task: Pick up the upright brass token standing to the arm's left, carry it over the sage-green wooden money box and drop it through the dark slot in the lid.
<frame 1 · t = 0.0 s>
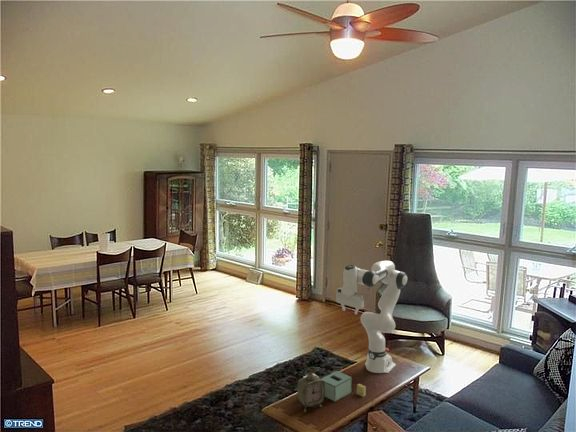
hand: (349, 312, 288), 48 cm above the table, fingers open, 8 cm apart
small box: (310, 397, 278), on the table
token: (361, 394, 280), on the table
coin box: (335, 393, 282), on the table
tabletop clock: (310, 407, 266), on the table
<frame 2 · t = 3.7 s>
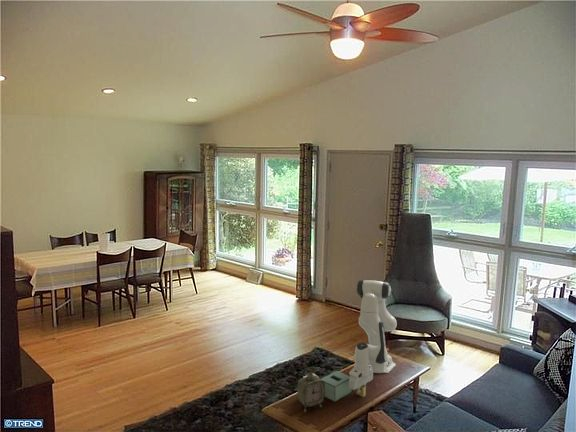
hand: (361, 391, 280), 2 cm above the table, fingers closed on token, 2 cm apart
token: (361, 394, 280), on the table, touching gripper
everything else where it was.
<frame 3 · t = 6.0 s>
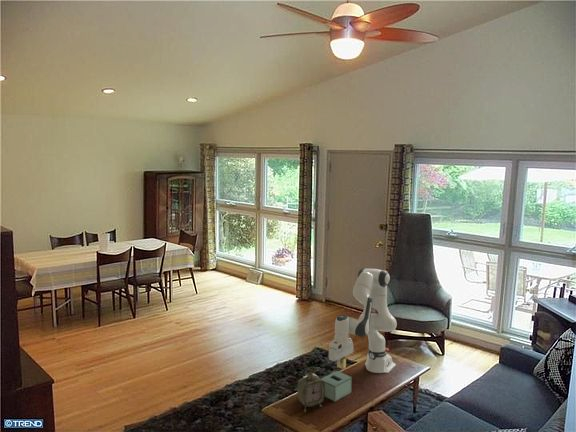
hand: (341, 363, 278), 20 cm above the table, fingers closed on token, 2 cm apart
token: (341, 367, 278), point 18 cm above the table, touching gripper
everything else where it was.
when the fingers open (12 cm above the table, at t = 7.8 s): token drops 9 cm, resting on coin box.
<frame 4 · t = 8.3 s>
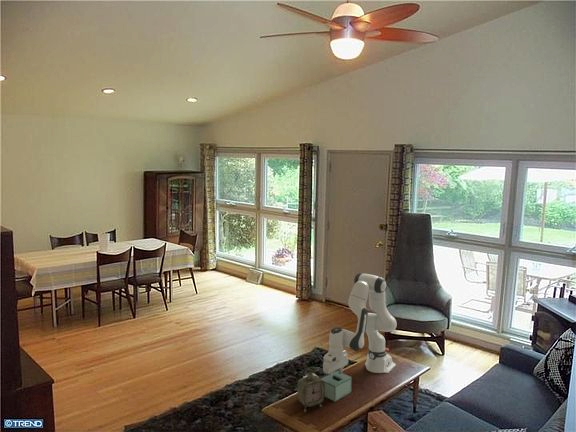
hand: (335, 375, 280), 12 cm above the table, fingers open, 7 cm apart
token: (335, 392, 281), point 1 cm above the table, touching coin box
everything else where it was.
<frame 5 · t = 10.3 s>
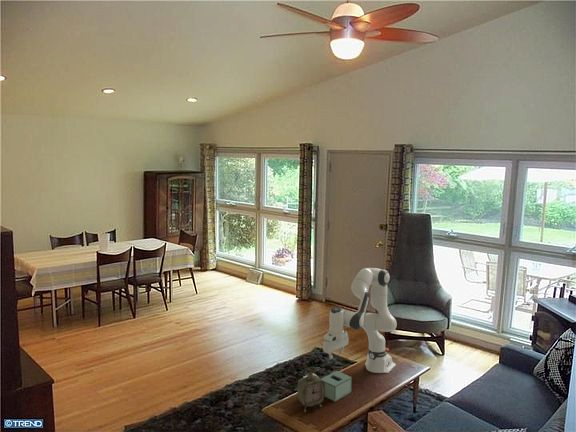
hand: (336, 355, 279), 25 cm above the table, fingers open, 8 cm apart
nothing on the table moved.
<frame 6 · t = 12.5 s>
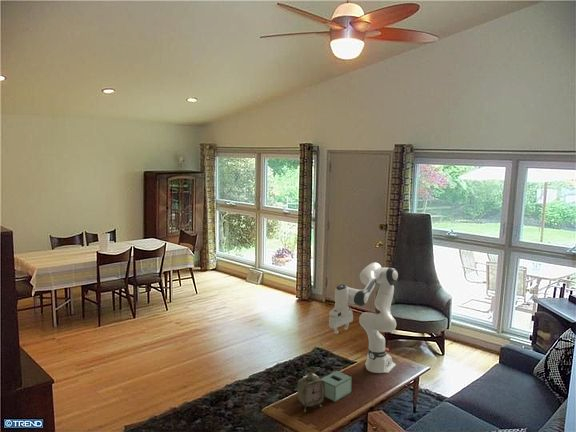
hand: (341, 331, 290), 35 cm above the table, fingers open, 8 cm apart
nothing on the table moved.
at the end: token inside the target area on the coin box (0.1 cm from its centre), point 0.8 cm above the coin box's base; the gripper is holding nothing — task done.
